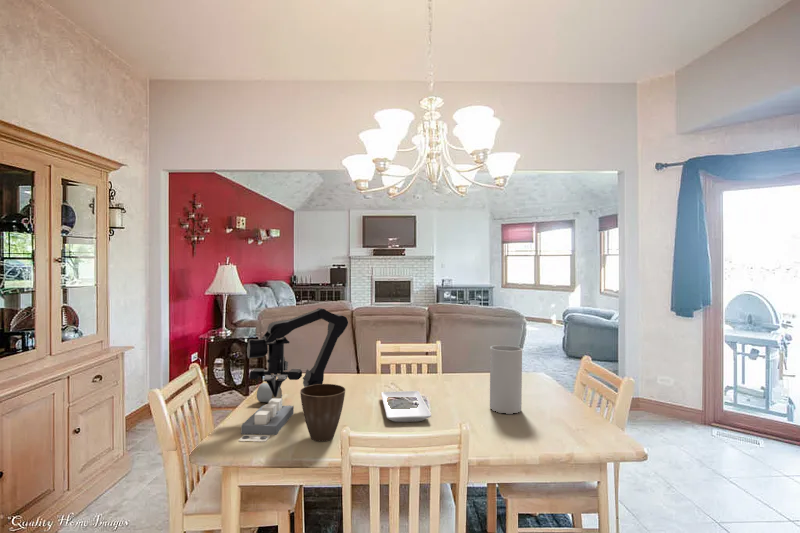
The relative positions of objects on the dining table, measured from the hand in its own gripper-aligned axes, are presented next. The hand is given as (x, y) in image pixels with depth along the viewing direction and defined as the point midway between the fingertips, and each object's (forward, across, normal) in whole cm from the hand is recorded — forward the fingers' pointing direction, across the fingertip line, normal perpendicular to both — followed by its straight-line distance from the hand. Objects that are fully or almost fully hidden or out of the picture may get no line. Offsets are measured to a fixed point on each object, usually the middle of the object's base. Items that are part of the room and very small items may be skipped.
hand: (275, 396), depth 160 cm
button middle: (+5, 0, +7) cm, 9 cm away
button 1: (+5, 0, +14) cm, 15 cm away
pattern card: (+8, 0, +21) cm, 22 cm away
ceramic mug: (+8, +8, -18) cm, 21 cm away
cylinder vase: (+8, -90, -13) cm, 91 cm away
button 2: (+5, 0, 0) cm, 5 cm away
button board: (+8, 0, +7) cm, 10 cm away
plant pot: (+8, -22, +18) cm, 30 cm away
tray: (+8, -49, -10) cm, 51 cm away
